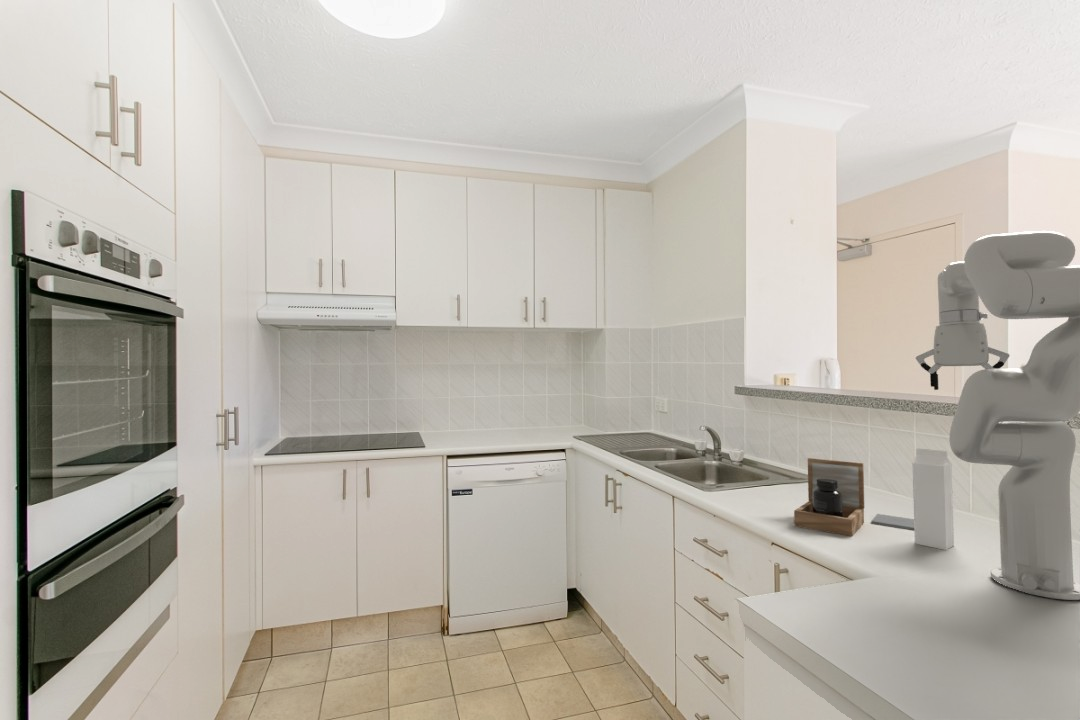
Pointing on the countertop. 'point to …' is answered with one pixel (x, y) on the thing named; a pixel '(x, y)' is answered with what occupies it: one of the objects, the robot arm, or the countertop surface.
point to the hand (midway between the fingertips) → (961, 389)
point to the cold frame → (848, 486)
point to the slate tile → (894, 521)
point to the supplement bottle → (827, 498)
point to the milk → (933, 499)
